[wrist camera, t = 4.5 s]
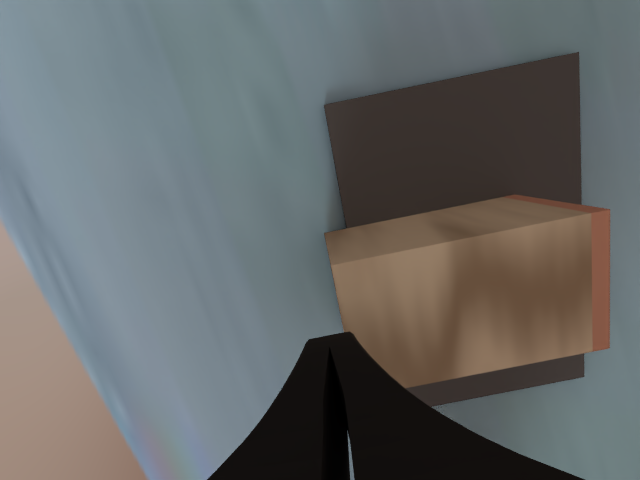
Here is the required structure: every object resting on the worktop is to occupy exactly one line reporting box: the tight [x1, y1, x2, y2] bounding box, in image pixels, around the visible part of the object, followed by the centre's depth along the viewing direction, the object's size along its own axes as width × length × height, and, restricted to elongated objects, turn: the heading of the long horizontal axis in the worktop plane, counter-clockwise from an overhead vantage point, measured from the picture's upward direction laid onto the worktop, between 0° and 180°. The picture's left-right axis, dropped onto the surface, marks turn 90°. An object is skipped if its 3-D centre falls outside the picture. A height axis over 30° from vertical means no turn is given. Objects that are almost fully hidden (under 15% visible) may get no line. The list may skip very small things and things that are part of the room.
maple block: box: [324, 195, 610, 388], centre depth 14 cm, size 5×5×9 cm
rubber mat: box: [324, 52, 584, 407], centre depth 16 cm, size 16×11×1 cm
